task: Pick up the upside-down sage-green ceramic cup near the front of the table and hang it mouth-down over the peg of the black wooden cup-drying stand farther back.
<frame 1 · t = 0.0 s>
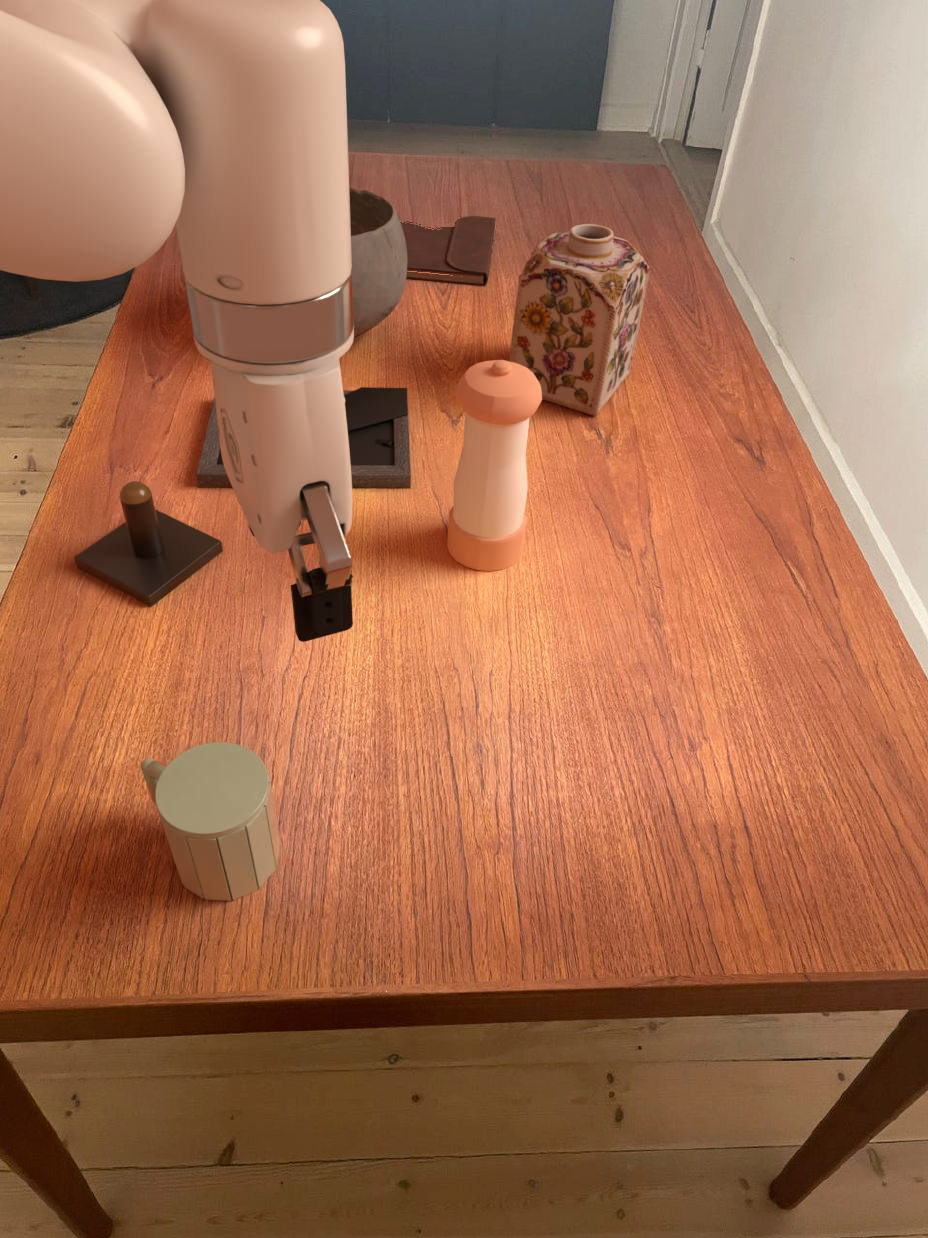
hand: (299, 578, 54), 18 cm above the table, tool pointing down, fingers open, 9 cm apart
decorative jar: (568, 383, 109), on the table
orange: (262, 206, 142), on the table
picture frame: (309, 444, 97), on the table
cup: (228, 854, 61), on the table
bowl: (325, 330, 115), on the table
pepper shaker: (485, 547, 86), on the table
notebook: (441, 253, 133), on the table
cup stand: (151, 559, 82), on the table
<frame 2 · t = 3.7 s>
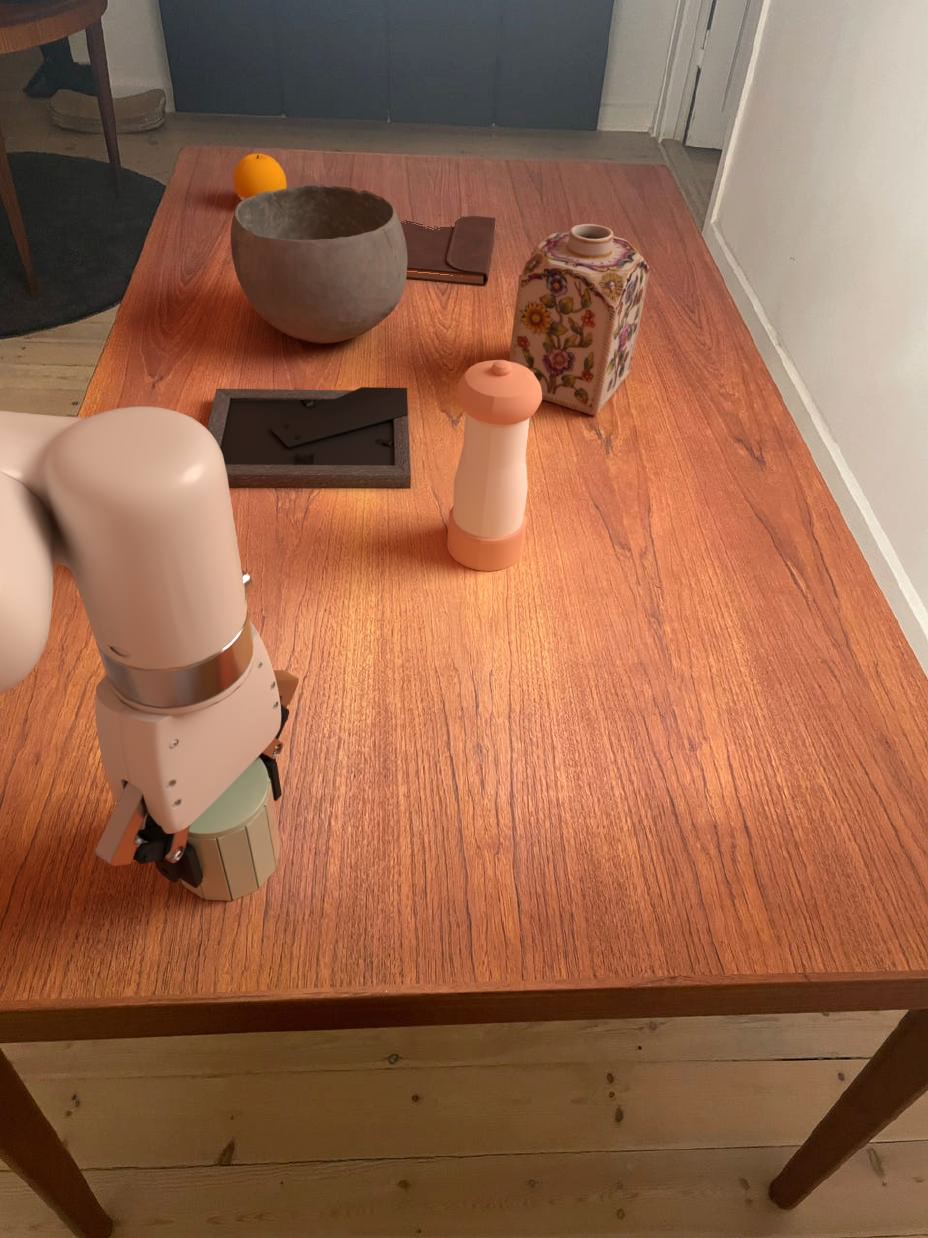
hand: (222, 828, 59), 3 cm above the table, tool pointing down, fingers closed on cup, 6 cm apart
cup: (228, 854, 61), on the table, touching gripper
everything else where it was.
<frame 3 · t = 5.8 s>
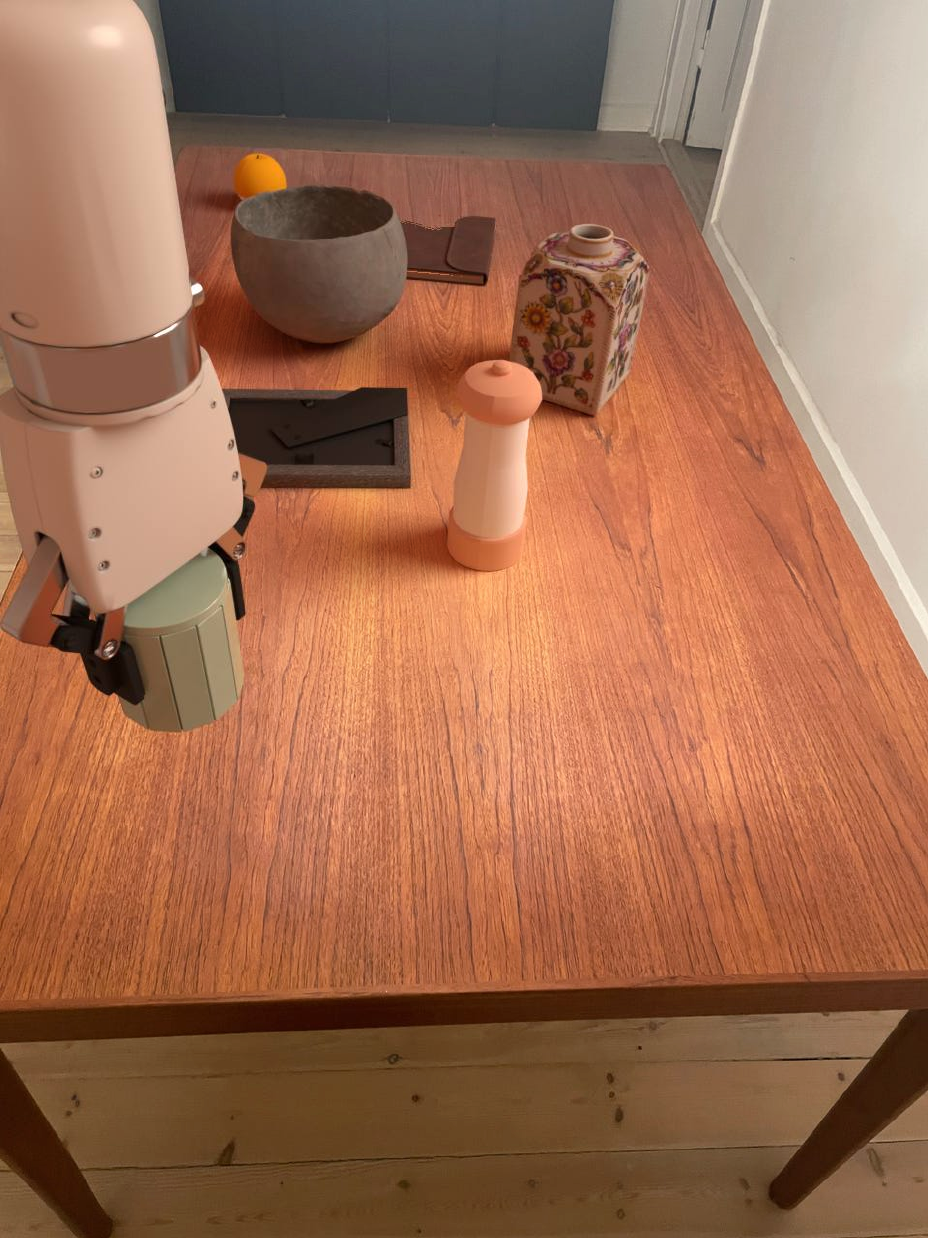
hand: (172, 646, 49), 19 cm above the table, tool pointing down, fingers closed on cup, 6 cm apart
cup: (181, 684, 52), point 16 cm above the table, touching gripper
everything else where it was.
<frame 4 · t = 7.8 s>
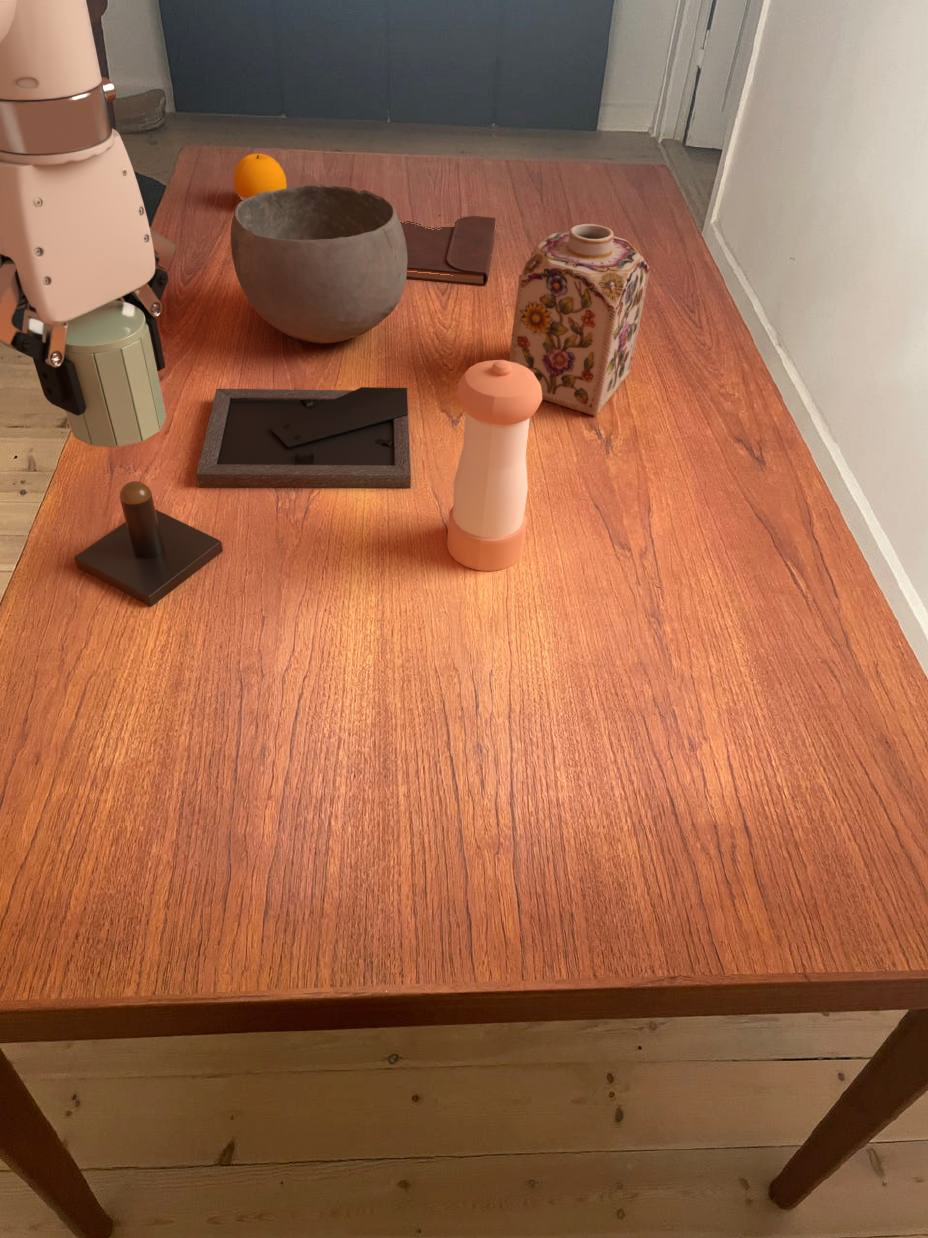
hand: (108, 383, 66), 20 cm above the table, tool pointing down, fingers closed on cup, 6 cm apart
cup: (118, 421, 68), point 17 cm above the table, touching gripper
everything else where it was.
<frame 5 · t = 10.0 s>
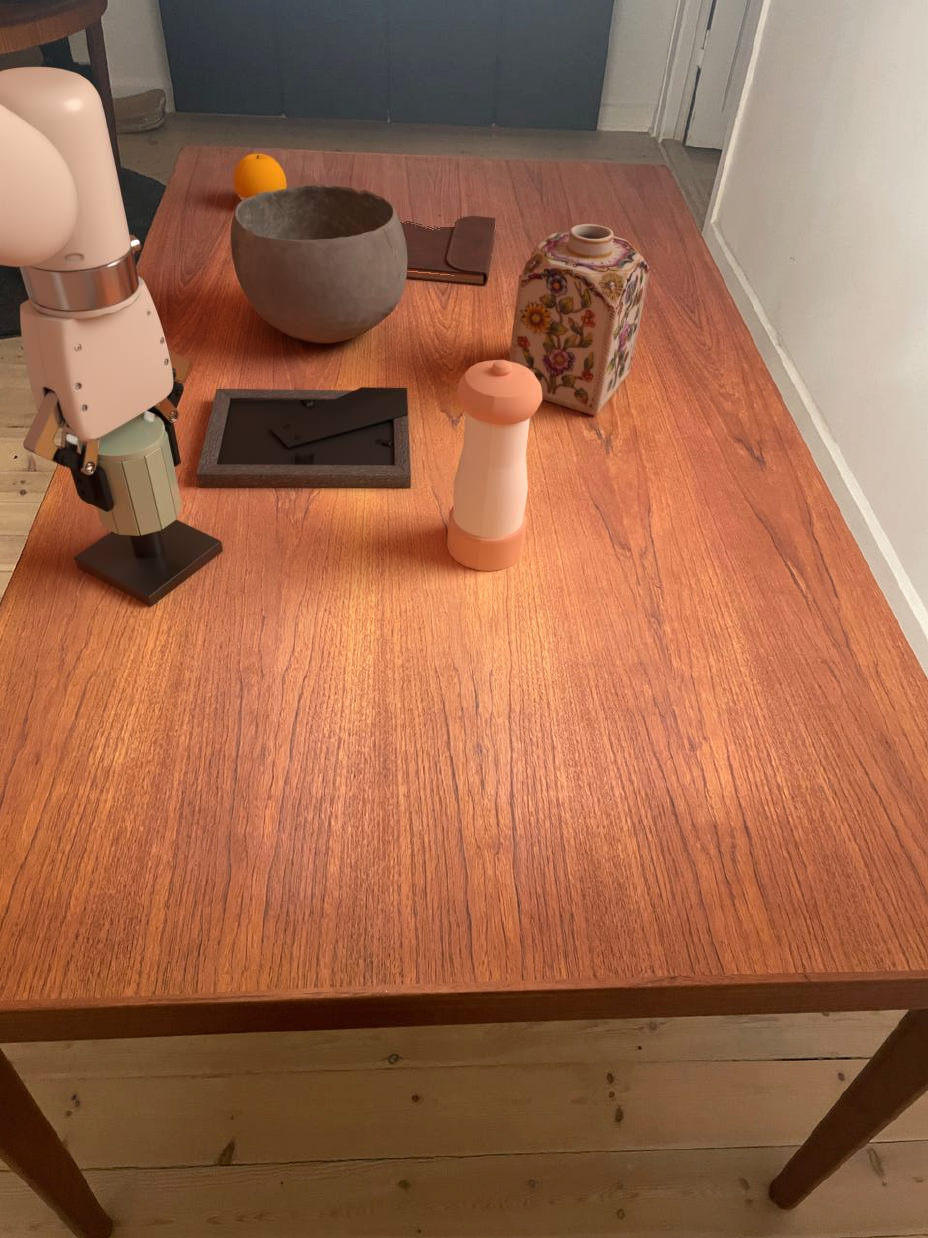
hand: (132, 480, 76), 9 cm above the table, tool pointing down, fingers closed on cup, 6 cm apart
cup: (140, 510, 78), point 6 cm above the table, touching gripper
everything else where it was.
when the fingers open (4 cm above the table, at t = 11.8 s): cup stays where it is, resting on cup stand.
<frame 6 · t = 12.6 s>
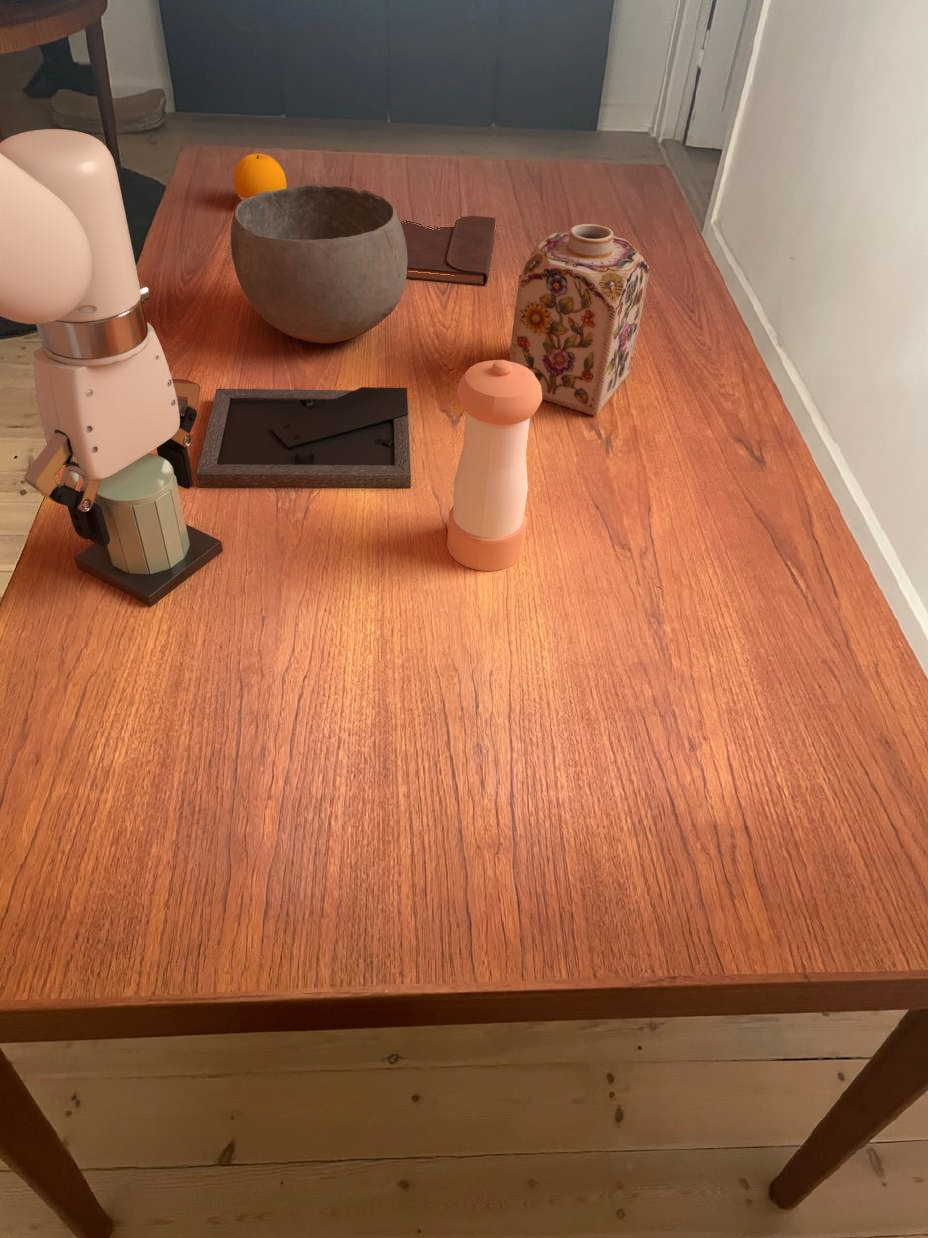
hand: (138, 509, 78), 6 cm above the table, tool pointing down, fingers open, 9 cm apart
cup: (149, 548, 81), point 1 cm above the table, touching cup stand
everything else where it was.
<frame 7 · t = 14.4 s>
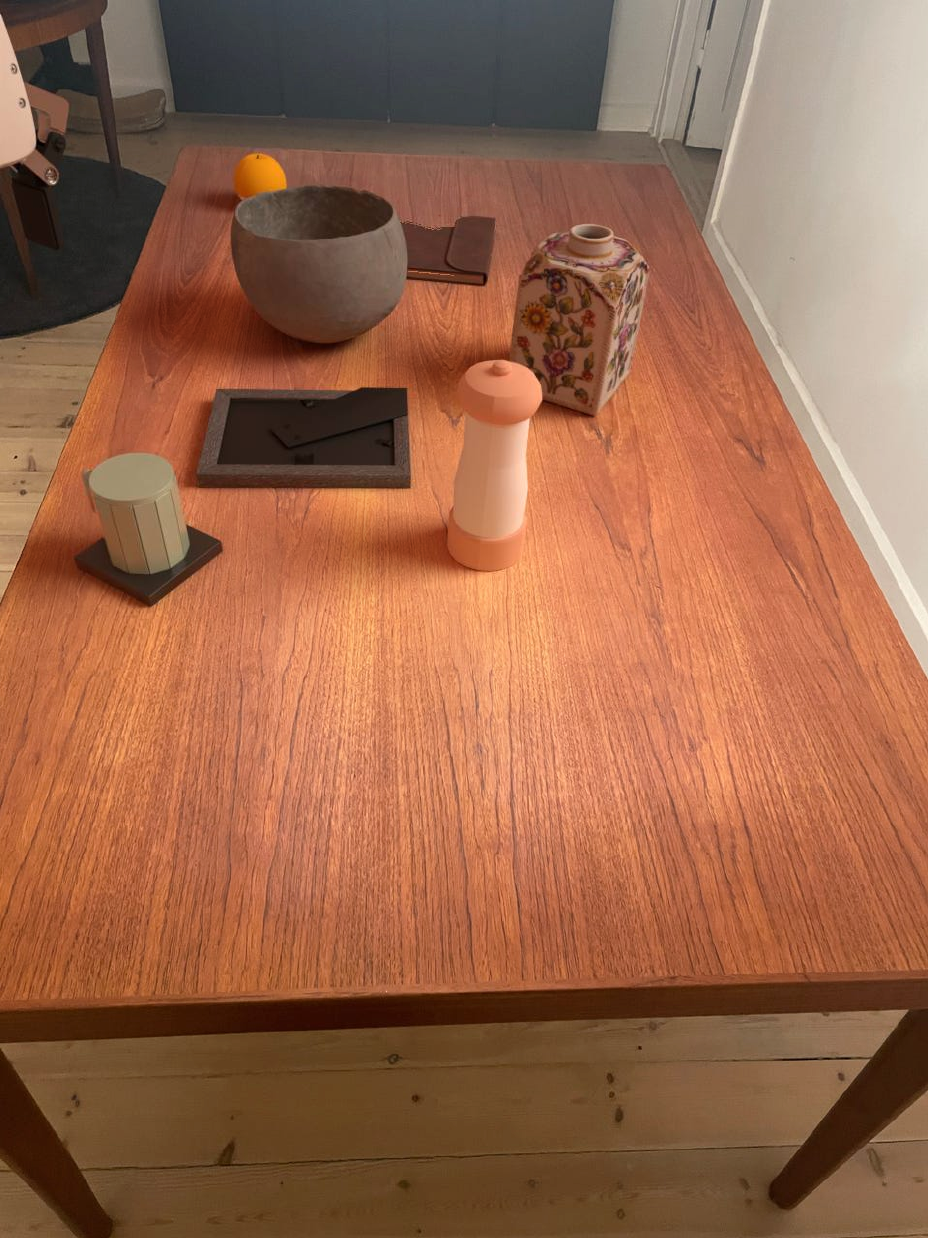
nothing on the table moved.
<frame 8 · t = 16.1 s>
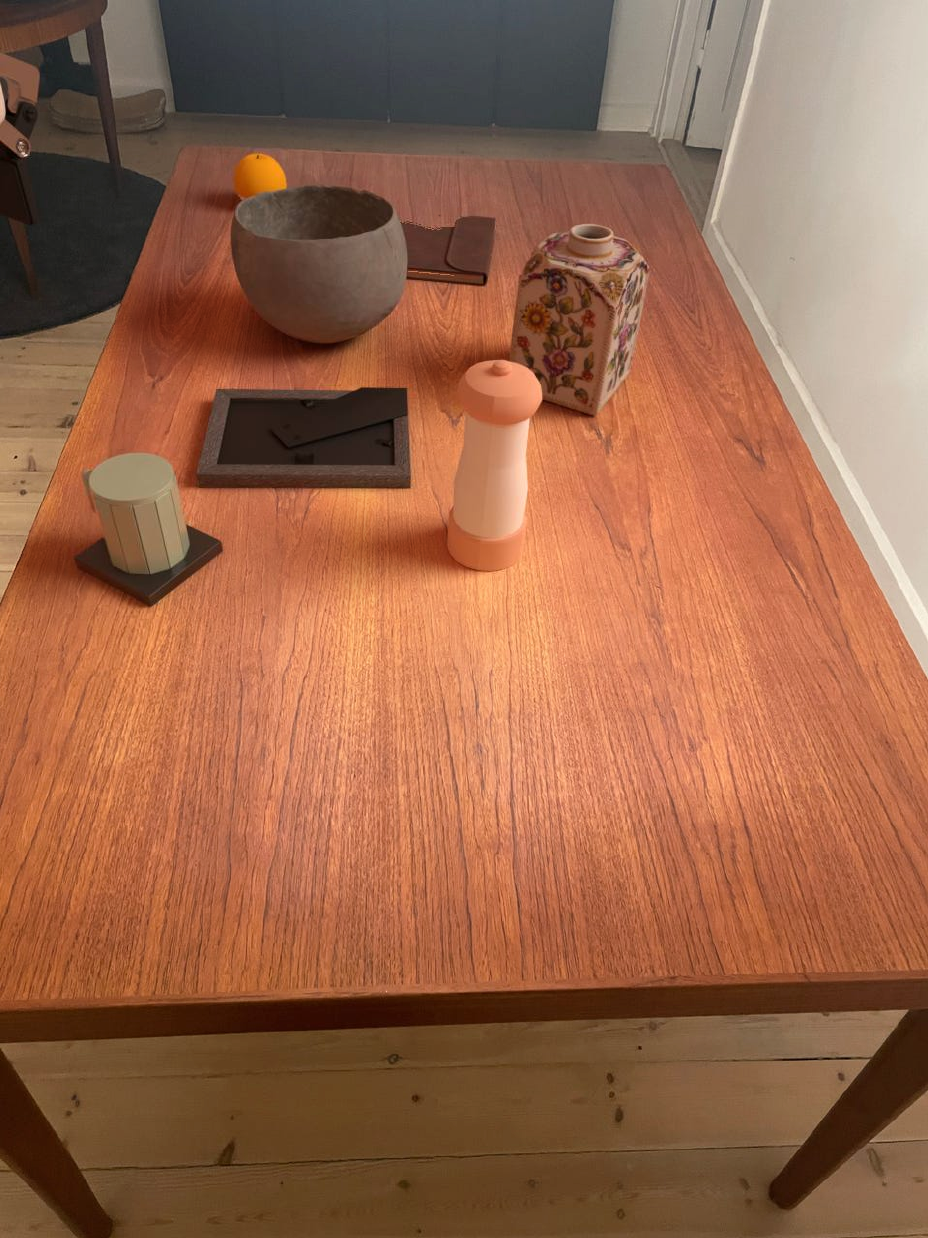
nothing on the table moved.
at the end: cup 0.1 cm off-centre on the cup stand, point 1.2 cm above the cup stand's base; cup tilted 0°; the gripper is holding nothing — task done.
